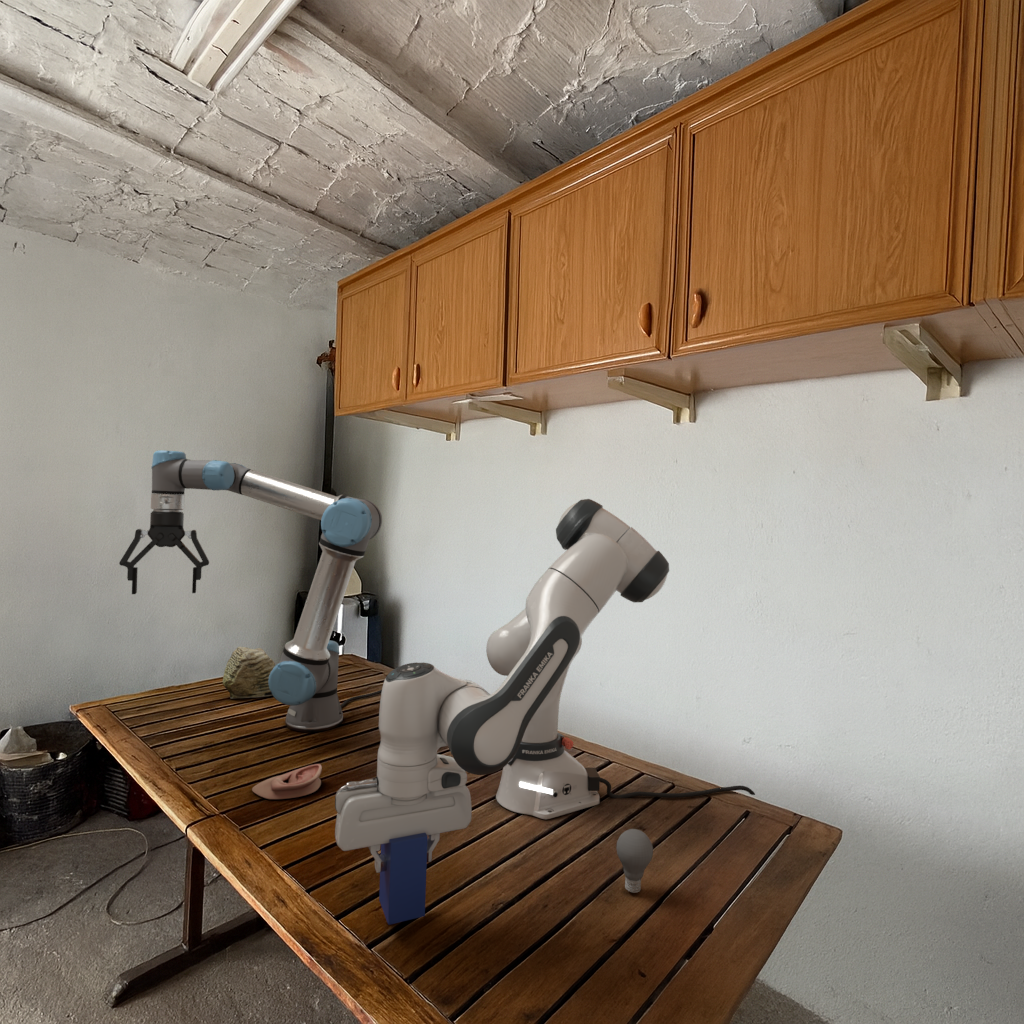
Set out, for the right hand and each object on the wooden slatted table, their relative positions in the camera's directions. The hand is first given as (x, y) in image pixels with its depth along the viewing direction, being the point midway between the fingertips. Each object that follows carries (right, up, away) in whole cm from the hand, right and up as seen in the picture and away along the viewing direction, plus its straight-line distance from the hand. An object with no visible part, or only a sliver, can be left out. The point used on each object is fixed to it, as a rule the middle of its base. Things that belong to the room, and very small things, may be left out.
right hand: (403, 865), depth 95 cm
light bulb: (+36, -10, +11) cm, 39 cm away
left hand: (-73, +32, +68) cm, 105 cm away
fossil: (-64, -4, +103) cm, 122 cm away
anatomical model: (-32, -7, +42) cm, 53 cm away
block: (0, -7, 0) cm, 7 cm away
